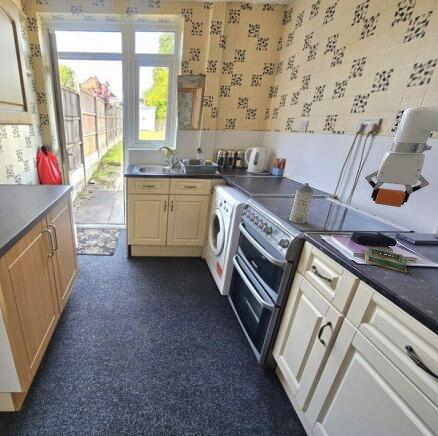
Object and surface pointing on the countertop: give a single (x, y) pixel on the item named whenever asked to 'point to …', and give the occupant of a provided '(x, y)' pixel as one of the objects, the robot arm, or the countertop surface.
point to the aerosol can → (301, 204)
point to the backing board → (385, 259)
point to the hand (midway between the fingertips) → (387, 201)
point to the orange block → (390, 197)
